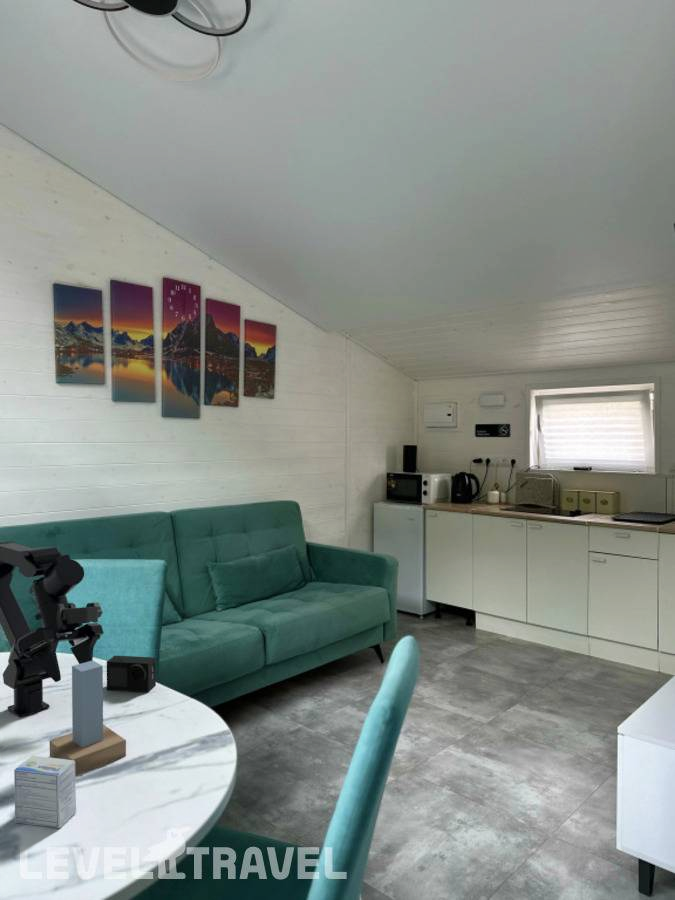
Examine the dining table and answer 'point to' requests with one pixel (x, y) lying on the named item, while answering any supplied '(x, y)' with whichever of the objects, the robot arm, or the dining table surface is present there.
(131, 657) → the digital camera
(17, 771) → the medicine box
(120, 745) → the walnut block
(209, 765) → the dining table surface
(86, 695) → the slate pillar
